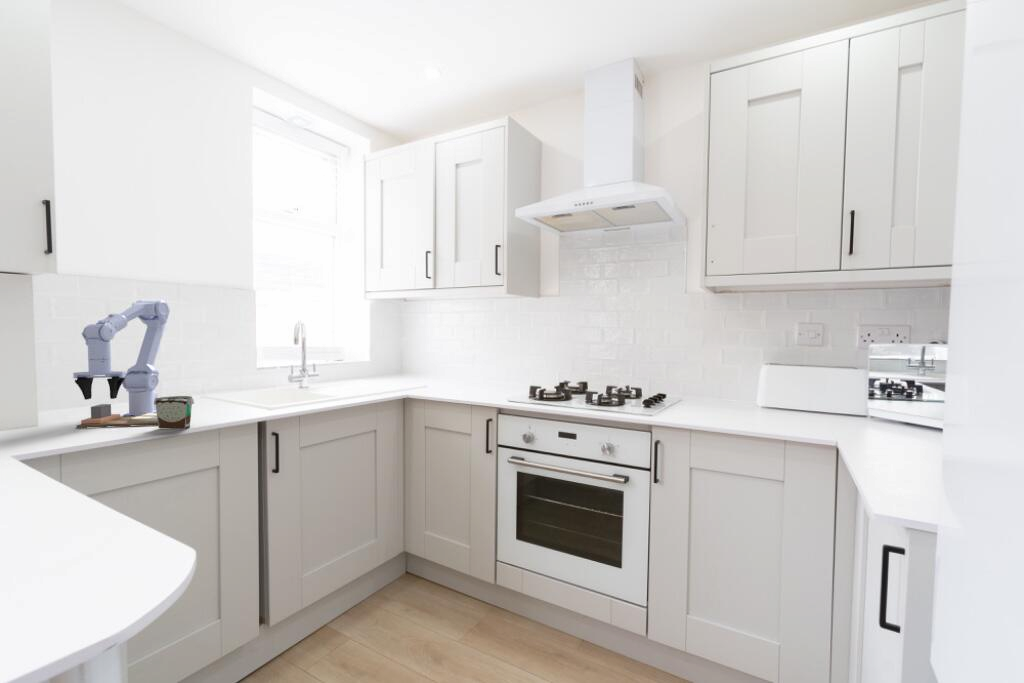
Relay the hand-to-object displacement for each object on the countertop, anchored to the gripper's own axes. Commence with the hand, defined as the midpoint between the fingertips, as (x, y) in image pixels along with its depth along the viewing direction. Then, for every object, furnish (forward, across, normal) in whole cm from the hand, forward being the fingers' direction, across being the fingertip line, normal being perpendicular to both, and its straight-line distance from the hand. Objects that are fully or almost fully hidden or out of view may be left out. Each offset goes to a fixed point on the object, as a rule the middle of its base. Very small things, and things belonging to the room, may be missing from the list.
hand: (100, 398), depth 157 cm
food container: (+9, +29, -11) cm, 32 cm away
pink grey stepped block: (+7, 0, 0) cm, 7 cm away
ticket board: (+9, +10, 0) cm, 13 cm away
